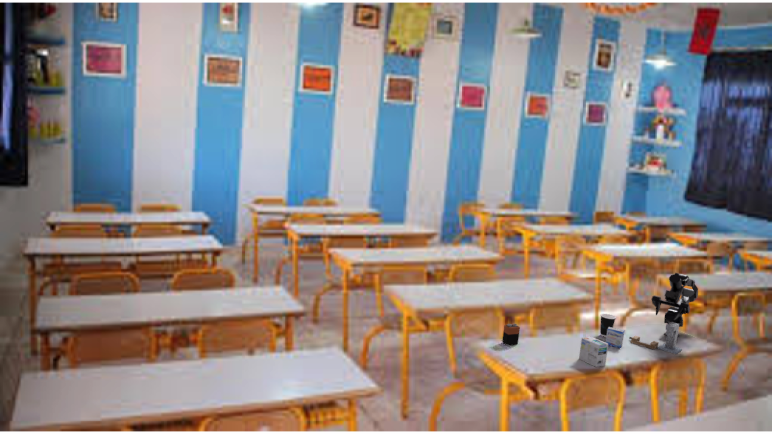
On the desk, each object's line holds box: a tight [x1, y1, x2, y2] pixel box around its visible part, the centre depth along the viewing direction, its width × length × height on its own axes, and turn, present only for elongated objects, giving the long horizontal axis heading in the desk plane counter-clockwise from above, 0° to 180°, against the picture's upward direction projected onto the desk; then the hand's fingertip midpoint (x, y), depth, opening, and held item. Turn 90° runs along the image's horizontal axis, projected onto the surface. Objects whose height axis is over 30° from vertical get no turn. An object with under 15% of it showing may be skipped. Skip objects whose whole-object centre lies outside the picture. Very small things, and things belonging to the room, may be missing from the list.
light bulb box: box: [578, 336, 609, 368], centre depth 306 cm, size 11×7×11 cm, turn 33°
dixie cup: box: [600, 313, 617, 338], centre depth 347 cm, size 8×8×11 cm
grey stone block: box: [664, 322, 680, 350], centre depth 332 cm, size 8×4×13 cm, turn 140°
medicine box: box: [604, 327, 626, 349], centre depth 333 cm, size 8×4×9 cm, turn 62°
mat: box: [657, 343, 683, 355], centre depth 335 cm, size 9×9×1 cm
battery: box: [501, 323, 521, 346], centre depth 322 cm, size 4×7×10 cm, turn 116°
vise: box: [629, 335, 659, 350], centre depth 339 cm, size 6×14×2 cm, turn 49°
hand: (665, 317), depth 344 cm, fingers open, 9 cm apart
